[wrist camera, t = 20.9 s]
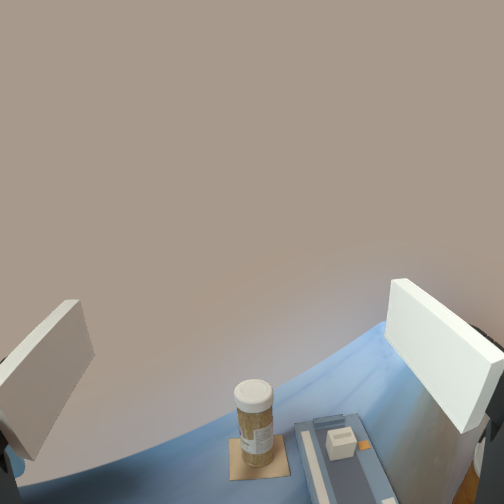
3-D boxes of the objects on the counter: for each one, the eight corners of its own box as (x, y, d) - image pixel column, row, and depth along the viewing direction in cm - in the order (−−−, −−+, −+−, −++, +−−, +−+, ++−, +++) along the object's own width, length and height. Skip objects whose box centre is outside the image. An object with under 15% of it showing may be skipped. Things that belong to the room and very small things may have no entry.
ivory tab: (330, 461, 34) (333, 445, 33) (325, 445, 37) (327, 429, 36) (352, 456, 35) (357, 440, 34) (347, 441, 37) (350, 425, 36)
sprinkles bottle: (236, 451, 39) (227, 384, 35) (264, 441, 41) (261, 373, 37) (250, 473, 35) (243, 406, 31) (280, 461, 37) (280, 393, 33)
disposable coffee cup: (509, 515, 17) (558, 459, 14) (451, 543, 18) (499, 495, 14) (486, 470, 26) (522, 411, 23) (432, 490, 27) (465, 434, 24)
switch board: (323, 551, 22) (326, 545, 21) (294, 429, 43) (294, 419, 42) (404, 528, 22) (410, 520, 22) (355, 419, 44) (357, 408, 43)
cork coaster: (229, 480, 34) (229, 479, 34) (228, 439, 42) (228, 438, 42) (289, 475, 34) (290, 474, 34) (282, 435, 42) (282, 434, 42)
